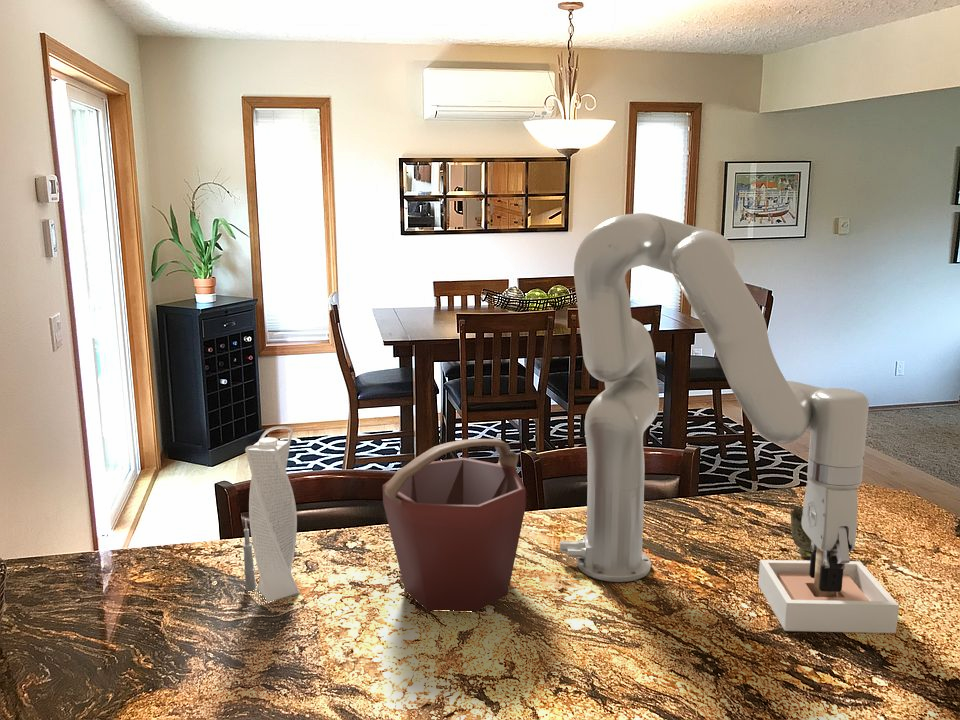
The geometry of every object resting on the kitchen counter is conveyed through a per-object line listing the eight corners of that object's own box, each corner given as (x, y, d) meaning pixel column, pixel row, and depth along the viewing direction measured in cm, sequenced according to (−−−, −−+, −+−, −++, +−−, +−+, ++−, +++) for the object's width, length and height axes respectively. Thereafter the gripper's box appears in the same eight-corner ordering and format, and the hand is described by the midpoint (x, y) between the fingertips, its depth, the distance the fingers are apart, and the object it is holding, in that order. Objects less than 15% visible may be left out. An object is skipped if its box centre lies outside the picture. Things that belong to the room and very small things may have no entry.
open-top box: (784, 630, 119) (786, 602, 118) (758, 585, 133) (759, 559, 132) (896, 633, 118) (899, 605, 117) (857, 586, 132) (860, 561, 131)
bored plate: (799, 619, 120) (800, 607, 120) (776, 584, 131) (777, 572, 131) (874, 621, 120) (876, 608, 119) (846, 585, 130) (847, 573, 130)
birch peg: (816, 606, 124) (821, 545, 122) (810, 596, 127) (814, 537, 125) (836, 606, 124) (841, 545, 122) (829, 597, 127) (834, 537, 125)
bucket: (504, 549, 147) (503, 417, 142) (556, 607, 127) (557, 455, 122) (372, 572, 139) (366, 433, 134) (405, 637, 119) (399, 476, 113)
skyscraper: (292, 576, 138) (281, 419, 132) (311, 595, 132) (301, 431, 126) (243, 590, 134) (230, 428, 128) (261, 611, 127) (248, 441, 121)
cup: (825, 547, 146) (828, 506, 144) (838, 566, 139) (842, 523, 137) (782, 546, 147) (785, 505, 145) (793, 565, 140) (797, 521, 138)
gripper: (791, 453, 129) (783, 559, 133) (829, 491, 113) (818, 611, 117) (839, 453, 129) (830, 560, 133) (884, 492, 113) (872, 612, 117)
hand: (825, 582), depth 125 cm, fingers open, 3 cm apart
